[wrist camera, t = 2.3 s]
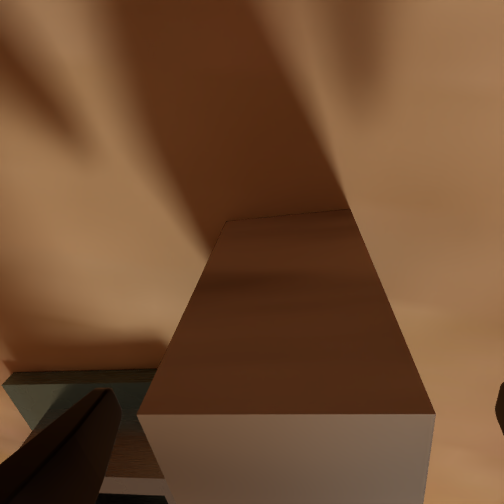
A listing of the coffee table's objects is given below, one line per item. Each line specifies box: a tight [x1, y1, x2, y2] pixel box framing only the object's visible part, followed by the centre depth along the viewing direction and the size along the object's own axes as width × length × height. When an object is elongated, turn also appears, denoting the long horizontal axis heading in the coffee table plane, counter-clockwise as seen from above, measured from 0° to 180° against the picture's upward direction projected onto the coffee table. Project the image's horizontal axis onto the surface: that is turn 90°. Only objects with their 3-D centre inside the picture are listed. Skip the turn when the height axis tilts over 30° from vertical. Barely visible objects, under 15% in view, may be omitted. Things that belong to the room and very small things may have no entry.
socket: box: [2, 369, 176, 504], centre depth 18 cm, size 12×12×4 cm
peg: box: [136, 209, 436, 504], centre depth 9 cm, size 4×4×8 cm
